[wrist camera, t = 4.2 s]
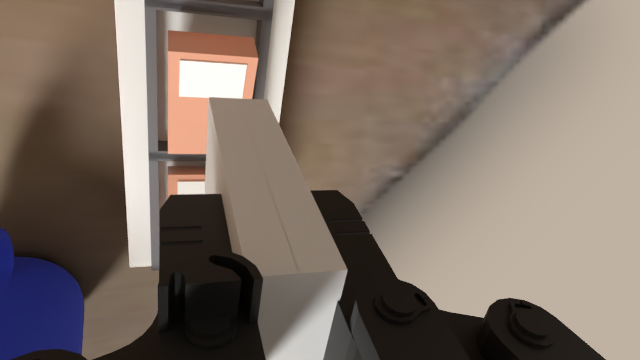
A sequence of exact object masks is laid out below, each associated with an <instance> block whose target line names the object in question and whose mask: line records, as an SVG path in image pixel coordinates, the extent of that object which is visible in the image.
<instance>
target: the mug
mask: <svg viewBox="0 0 640 360" xmlns="http://www.w3.org/2000/svg"><path fill="white" fill-rule="evenodd" d="M83 323H84V299H83V294H82V291H81V288H80V286H79V284H78V283H77V281H76V280H75V278H74V277H73V276H72V275H71V274H70V273H69V272H68V271H66V270H65V269H63V268H62V267H60V266H58V265H56V264H54V263H52V262H49V261H46V260H43V259H38V258H32V257H14V251H13V245H12V241H11V238H10V236H9V234H8V233H7V231H6V230H4V229H2V228H0V360H11V359H13V358H16V357H19V356H22V355H25V354H27V353H30V352H33V351H37V350H49V349H63V350H67V351H71V352H75V353H79V354H81V355H82V340H83Z"/></svg>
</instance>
